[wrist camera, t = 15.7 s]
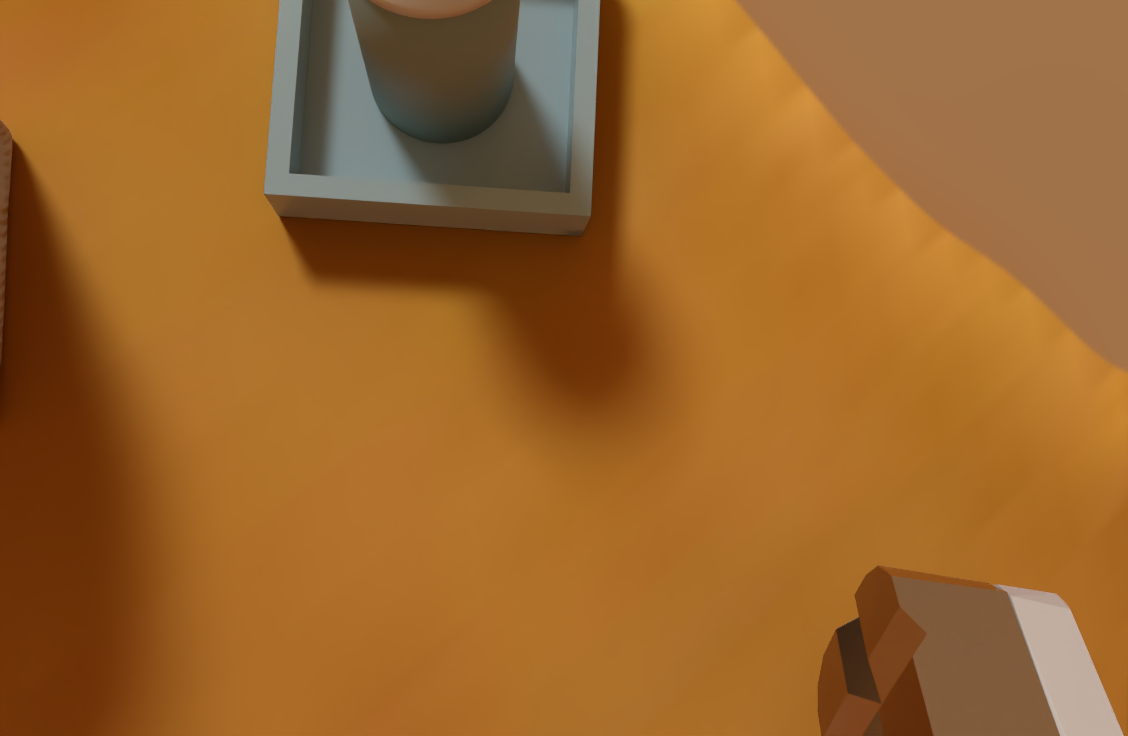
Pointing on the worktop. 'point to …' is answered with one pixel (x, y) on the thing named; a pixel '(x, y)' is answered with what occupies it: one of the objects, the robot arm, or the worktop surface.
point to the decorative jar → (4, 213)
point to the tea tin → (438, 63)
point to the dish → (430, 170)
